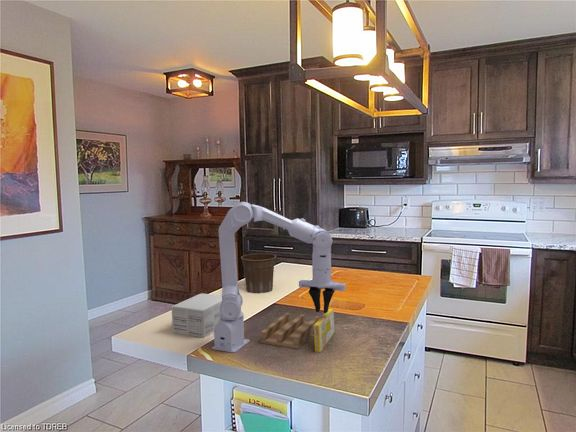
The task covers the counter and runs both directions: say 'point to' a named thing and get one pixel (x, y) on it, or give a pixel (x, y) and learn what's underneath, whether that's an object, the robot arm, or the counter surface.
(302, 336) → the rack
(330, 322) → the candy box
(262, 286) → the plant pot
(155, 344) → the counter surface
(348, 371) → the counter surface
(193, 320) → the supplement box
